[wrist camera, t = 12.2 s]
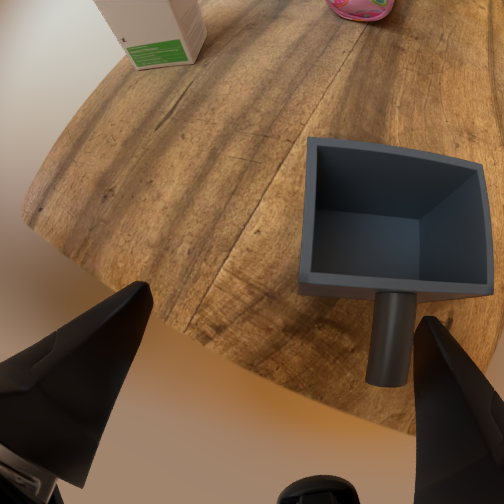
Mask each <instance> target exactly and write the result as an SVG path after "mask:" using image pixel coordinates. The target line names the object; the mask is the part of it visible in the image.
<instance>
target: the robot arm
mask: <svg viewBox="0 0 504 504" xmlns="http://www.w3.org/2000/svg"><path fill="white" fill-rule="evenodd" d="M152 308H153V297H152V293H151V290H150V286H149V284H148V283H147V282H143V281H135V282H133V283H131V284H130V285H128V286H127V287H125V288H123V289H122V290H120V291H118V292H117V293H115V294H114V295H112V296H110V297H109V298H107V299H105V300H104V301H102V302H101V303H99V304H97V305H96V306H94V307H92V308H91V309H90V310H88V311H86V312H85V313H83V314H81V315H80V316H78V317H77V318H75V319H73V320H72V321H71V322H69V323H67V324H65V325H64V326H62V327H61V328H59V329H58V330H57V331H55V332H53V333H52V334H50V335H49V336H47V337H45V338H44V339H42V340H41V341H39V342H37V343H35V344H34V345H32V346H30V347H28V348H27V349H25V350H23V351H21V352H20V353H18V354H16V355H14V356H12V357H10V358H8V359H7V360H5V361H3V362H1V363H0V504H64V502H63V500H62V497H61V494H60V492H59V489H58V486H57V484H56V483H57V480H58V478H60V479H62V480H64V481H66V482H68V483H70V484H72V485H74V486H77V487H79V488H81V489H82V488H83V487H84V485H85V481H86V479H87V476H88V473H89V470H90V467H91V464H92V461H93V459H94V456H95V453H96V450H97V448H98V445H99V442H100V439H101V437H102V434H103V432H104V429H105V426H106V424H107V421H108V419H109V416H110V413H111V411H112V409H113V406H114V404H115V401H116V399H117V397H118V394H119V392H120V389H121V387H122V385H123V382H124V380H125V378H126V375H127V373H128V371H129V368H130V366H131V364H132V362H133V359H134V357H135V355H136V353H137V350H138V348H139V346H140V343H141V340H142V337H143V335H144V332H145V328H146V325H147V323H148V320H149V317H150V314H151V311H152ZM413 350H414V372H413V376H414V394H415V411H416V448H417V449H416V481H415V494H414V504H504V402H503V400H502V399H501V398H500V396H499V395H498V393H497V392H496V391H494V388H493V387H492V386H491V384H490V383H489V381H488V380H487V379H486V377H485V376H484V375H483V373H482V372H481V371H480V370H479V368H478V367H477V366H476V364H475V363H474V362H473V361H472V359H471V358H470V357H469V356H468V354H467V353H466V352H465V351H464V349H463V348H462V347H461V346H460V345H459V343H458V342H457V341H456V340H455V339H454V337H453V336H452V335H451V334H450V333H449V331H448V330H447V329H446V328H445V327H444V326H443V325H442V323H441V322H440V321H439V320H438V319H437V318H436V317H435V316H424V317H423V318H422V319H421V321H420V323H419V325H418V327H417V329H416V331H415V333H414V337H413ZM347 492H349V494H346V493H347ZM284 502H287V503H284ZM280 504H353V491H352V489H350V488H346V489H341V490H336V491H330V492H323V493H317V494H310V495H302V496H294V497H284V498H282V499H281V500H280Z"/></svg>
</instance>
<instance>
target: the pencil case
mask: <svg viewBox="0 0 504 504" xmlns="http://www.w3.org/2000/svg"><path fill="white" fill-rule="evenodd" d="M325 1H326V2H327V4H328V5H329V6H330V7H331V8H332V9H333V10H334V11H335V12H336V13H337V14H338V15H340V16H341V17H343V18H346V19H350V20H356V21H376V20H379V19H382V18H384V17H385V16H386V15H388V14H389V12H390V11H391V9H392V6H393V3H394V1H395V0H325Z"/></svg>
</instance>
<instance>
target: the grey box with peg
mask: <svg viewBox="0 0 504 504" xmlns="http://www.w3.org/2000/svg"><path fill="white" fill-rule="evenodd" d="M297 294H298V295H309V296H321V297H334V298H348V299H363V300H375V302H374V314H373V324H372V333H371V342H370V350H369V357H368V364H367V371H366V377H365V382H366V383H368V384H370V385H374V386H378V387H389V388H392V387H401V386H405V385H406V384H407V379H408V374H409V367H410V361H411V354H412V346H413V337H414V329H415V318H416V305H417V303H423V302H434V301H444V300H454V299H463V298H472V297H480V296H488V295H493V294H494V258H493V239H492V226H491V217H490V208H489V200H488V194H487V187H486V181H485V176H484V171H483V166H482V164H479V163H475V162H471V161H467V160H463V159H459V158H454V157H450V156H445V155H440V154H436V153H431V152H425V151H420V150H415V149H409V148H403V147H397V146H390V145H383V144H376V143H368V142H360V141H351V140H342V139H331V138H319V137H308V138H307V159H306V180H305V198H304V214H303V229H302V242H301V255H300V267H299V278H298V290H297Z"/></svg>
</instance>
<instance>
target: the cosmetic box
mask: <svg viewBox="0 0 504 504" xmlns="http://www.w3.org/2000/svg"><path fill="white" fill-rule="evenodd" d="M93 1H94V2H95V4H96V6H97V7H98V9H99V10H100V12H101V14H102V15H103V17H104V19H105V20H106V22H107V23H108V25H109V27H110V28H111V30H112V32H113V33H114V35H115V36H116V38H117V40H118V41H119V43H120V44H121V46H122V48H123V49H124V51H125V53H126V54H127V56H128V58H129V59H130V61H131V62H132V64H133V66H134V67H135V69H136V70H143V69H150V68H158V67H166V66H176V65H189V64H194V63H195V61H196V59H197V57H198V54H199V52H200V50H201V47H202V45H203V43H204V41H205V39H206V37H207V30H206V27H205V24H204V21H203V18H202V15H201V11H200V8H199V5H198V2H197V0H93Z"/></svg>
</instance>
